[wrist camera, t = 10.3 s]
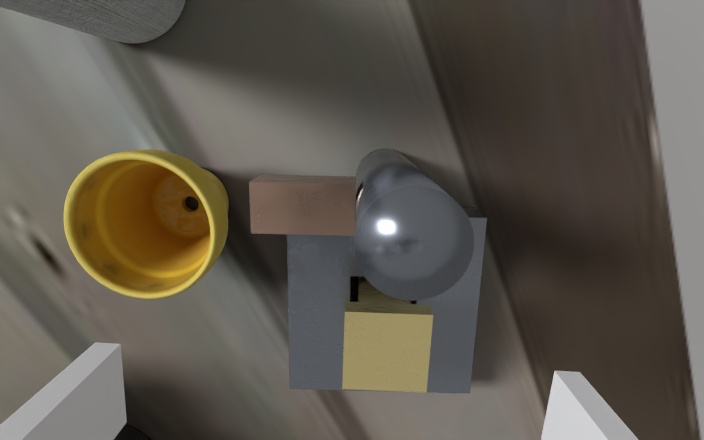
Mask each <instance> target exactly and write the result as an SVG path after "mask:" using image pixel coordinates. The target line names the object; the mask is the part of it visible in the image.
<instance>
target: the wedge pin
mask: <svg viewBox="0 0 704 440" xmlns="http://www.w3.org/2000/svg"><path fill="white" fill-rule="evenodd" d="M432 324H433V313H432V310H431V308H430V305H420V304H411V302H410V301H409V300H401V299H396V298H393V297H390V296H388V295H386V294H384V293H382V292H381V291H379V290H378V289H376V288H375V287H374V286H373V285H371V284H370V282H369V281H368V280H367V279H366V278H365V276H359V285H358V302H345V319H344V350H343V381H342V389H353V390H378V391H403V392H427V382H428V370H429V359H430V347H431V336H432Z"/></svg>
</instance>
